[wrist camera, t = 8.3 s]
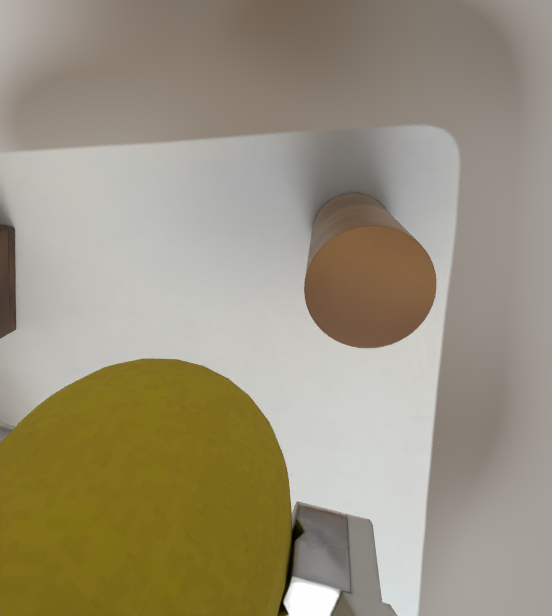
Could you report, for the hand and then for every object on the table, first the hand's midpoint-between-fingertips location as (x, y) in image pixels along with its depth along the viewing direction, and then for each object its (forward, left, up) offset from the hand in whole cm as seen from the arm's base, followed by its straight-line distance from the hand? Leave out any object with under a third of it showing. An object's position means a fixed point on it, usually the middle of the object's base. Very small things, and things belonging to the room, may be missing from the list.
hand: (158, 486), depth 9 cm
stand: (-1, +5, -26) cm, 27 cm away
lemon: (0, 0, -3) cm, 3 cm away
